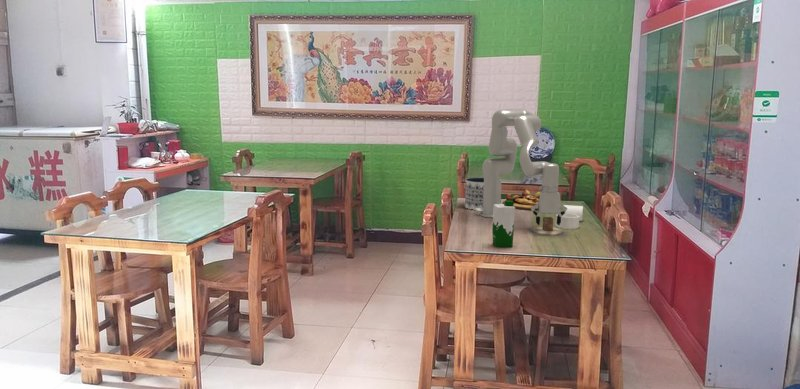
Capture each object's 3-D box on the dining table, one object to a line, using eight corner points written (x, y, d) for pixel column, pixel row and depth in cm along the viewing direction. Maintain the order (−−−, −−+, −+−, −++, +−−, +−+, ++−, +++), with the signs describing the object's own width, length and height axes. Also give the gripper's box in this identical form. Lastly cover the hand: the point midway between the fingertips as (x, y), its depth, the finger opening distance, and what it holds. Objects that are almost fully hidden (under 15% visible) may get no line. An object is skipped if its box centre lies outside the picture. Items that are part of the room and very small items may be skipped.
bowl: (558, 229, 312) (559, 217, 311) (553, 224, 322) (554, 213, 321) (581, 229, 312) (581, 217, 311) (574, 224, 323) (575, 213, 322)
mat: (534, 236, 296) (534, 235, 296) (527, 229, 312) (527, 228, 312) (568, 236, 296) (568, 236, 296) (559, 229, 312) (559, 228, 312)
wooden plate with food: (505, 210, 360) (506, 196, 358) (499, 199, 391) (500, 186, 390) (562, 212, 359) (563, 198, 357) (551, 202, 390) (552, 189, 388)
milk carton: (515, 247, 275) (517, 202, 272) (494, 247, 275) (496, 202, 271) (509, 242, 284) (511, 199, 281) (490, 242, 283) (491, 199, 280)
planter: (497, 211, 356) (499, 182, 353) (465, 210, 356) (466, 181, 354) (494, 205, 373) (495, 177, 371) (464, 204, 374) (464, 177, 372)
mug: (582, 222, 329) (582, 207, 327) (562, 221, 332) (563, 206, 330) (582, 218, 340) (583, 203, 339) (563, 216, 343) (564, 202, 342)
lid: (536, 235, 297) (537, 220, 296) (529, 228, 311) (530, 214, 310) (565, 235, 297) (566, 221, 296) (558, 228, 311) (558, 215, 310)
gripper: (533, 190, 297) (531, 226, 299) (570, 190, 297) (568, 226, 300) (530, 188, 304) (528, 222, 307) (565, 188, 304) (564, 223, 307)
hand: (548, 224), depth 303 cm, fingers open, 9 cm apart
